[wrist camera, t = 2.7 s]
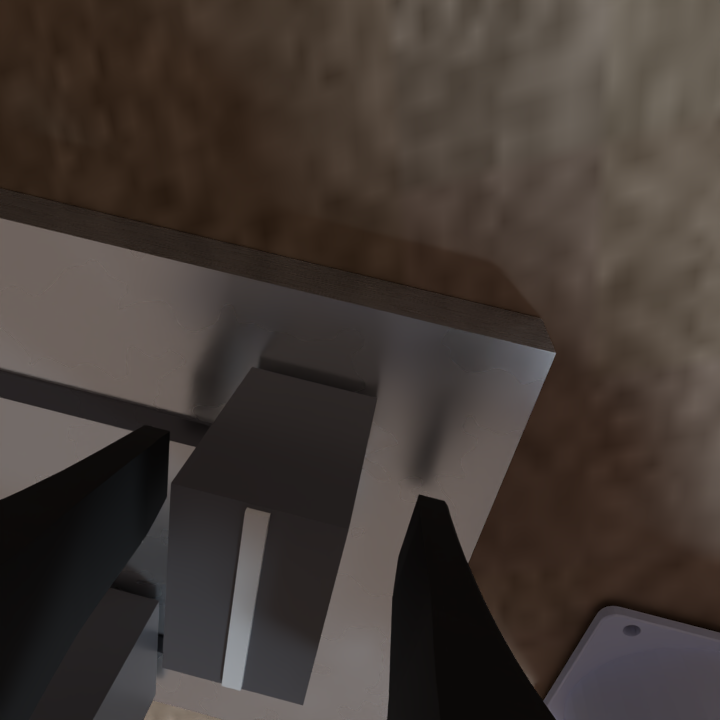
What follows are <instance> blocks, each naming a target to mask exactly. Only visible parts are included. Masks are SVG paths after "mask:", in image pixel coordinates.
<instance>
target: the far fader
mask: <svg viewBox="0 0 720 720" xmlns="http://www.w3.org/2000/svg"><path fill="white" fill-rule="evenodd" d="M158 622H159V601H158V600H155V599H151V598H147V597H143V596H139V595H136V594H132V593H128V592H124V591H121V590H117V589H113V588H109V589H108V591H107V592H106V594H105V595H104V596H103V598H102V599H101V601H100V602H99V603H98V605H97V606H96V608H95V609H94V610H93V612H92V613H91V615H90V616H89V618H88V619H87V621H86V622H85V624H84V625H83V627H82V628H81V630H80V631H79V633H78V634H77V636H76V637H75V639H74V641H73V643H72V644H71V646H70V648H69V650H68V651H67V653H66V655H65V656H64V658H63V660H62V662H61V663H60V665H59V667H58V669H57V670H56V672H55V674H54V675H53V677H52V679H51V681H50V682H49V684H48V686H47V688H46V690H45V692H44V693H43V695H42V697H41V699H40V701H39V702H38V704H37V706H36V708H35V710H34V711H33V713H32V715H31V717H30V719H29V720H144V718H145V715H146V713H147V711H148V709H149V707H150V705H151V703H152V701H153V699H154V697H155V695H156V673H157V648H158Z"/></svg>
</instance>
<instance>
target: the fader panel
mask: <svg viewBox="0 0 720 720" xmlns="http://www.w3.org/2000/svg"><path fill="white" fill-rule="evenodd" d="M555 354H556V352H555V349H554V347H553V345H552V342H551V340H550V337H549V335H548V333H547V330H546V328H545V326H544V323H543V321H542V319H541V318H537V317H533V316H529V315H525V314H521V313H517V312H512V311H508V310H504V309H500V308H496V307H492V306H488V305H483V304H479V303H475V302H471V301H467V300H463V299H458V298H454V297H450V296H446V295H442V294H438V293H434V292H429V291H425V290H421V289H417V288H413V287H409V286H404V285H400V284H396V283H392V282H388V281H384V280H380V279H375V278H371V277H367V276H363V275H359V274H355V273H350V272H346V271H342V270H338V269H334V268H330V267H326V266H321V265H317V264H313V263H309V262H305V261H301V260H296V259H292V258H288V257H284V256H280V255H276V254H272V253H267V252H263V251H259V250H255V249H251V248H247V247H242V246H238V245H234V244H230V243H226V242H222V241H218V240H213V239H209V238H205V237H201V236H197V235H193V234H188V233H184V232H180V231H176V230H172V229H168V228H164V227H159V226H155V225H151V224H147V223H143V222H139V221H134V220H130V219H126V218H122V217H118V216H114V215H110V214H105V213H101V212H97V211H93V210H89V209H85V208H80V207H76V206H72V205H68V204H64V203H60V202H56V201H51V200H47V199H43V198H39V197H35V196H31V195H26V194H22V193H18V192H14V191H10V190H6V189H2V188H0V500H1V499H3V498H6V497H8V496H10V495H12V494H15V493H17V492H19V491H21V490H23V489H25V488H27V487H29V486H31V485H34V484H36V483H38V482H40V481H42V480H44V479H46V478H48V477H50V476H52V475H54V474H56V473H58V472H60V471H62V470H64V469H66V468H68V467H70V466H72V465H73V464H75V463H77V462H79V461H81V460H83V459H85V458H86V457H88V456H90V455H92V454H94V453H95V452H97V451H99V450H101V449H103V448H104V447H106V446H108V445H110V444H112V443H113V442H115V441H117V440H119V439H120V438H122V437H124V436H126V435H128V434H129V433H131V432H133V431H135V430H137V429H138V428H140V427H142V426H144V425H148V426H152V427H156V428H160V429H164V430H168V431H170V443H169V466H168V489H167V498H166V500H165V502H164V504H163V506H162V508H161V510H160V512H159V514H158V515H157V517H156V519H155V521H154V523H153V525H152V526H151V528H150V530H149V532H148V534H147V535H146V537H145V538H144V540H143V541H142V543H141V544H140V546H139V547H138V548H137V550H136V551H135V553H134V554H133V556H132V557H131V558H130V560H129V561H128V563H127V564H126V566H125V567H124V568H123V570H122V571H121V573H120V574H119V575H118V577H117V578H116V580H115V581H114V582H113V584H112V585H111V587H110V588H113V589H117V590H121V591H124V592H128V593H132V594H136V595H139V596H143V597H147V598H151V599H155V600H158V601H159V622H158V648H157V673H156V695H155V697H154V699H153V701H157V702H161V703H164V704H168V705H172V706H175V707H179V708H183V709H186V710H190V711H194V712H198V713H201V714H205V715H209V716H212V717H216V718H220V719H223V720H387V713H388V700H389V673H390V643H391V615H392V596H393V589H394V582H395V575H396V568H397V562H398V556H399V553H400V550H401V547H402V544H403V541H404V538H405V535H406V532H407V529H408V526H409V523H410V519H411V516H412V513H413V510H414V507H415V504H416V501H417V498H418V495H419V494H420V495H424V496H428V497H432V498H436V499H440V500H444V501H445V502H446V504H447V505H448V508H449V512H450V515H451V518H452V521H453V524H454V527H455V530H456V533H457V536H458V539H459V542H460V544H461V547H462V550H463V552H464V555H465V557H466V560H467V562H469V560H470V558H471V555H472V553H473V550H474V548H475V546H476V543H477V541H478V539H479V536H480V534H481V531H482V529H483V527H484V524H485V522H486V519H487V517H488V515H489V512H490V510H491V507H492V505H493V503H494V500H495V498H496V496H497V493H498V491H499V488H500V486H501V484H502V481H503V479H504V476H505V474H506V472H507V469H508V467H509V464H510V462H511V460H512V457H513V455H514V452H515V450H516V448H517V445H518V443H519V441H520V438H521V436H522V433H523V431H524V429H525V426H526V424H527V421H528V419H529V417H530V414H531V412H532V409H533V407H534V405H535V402H536V400H537V398H538V395H539V393H540V390H541V388H542V386H543V383H544V381H545V378H546V376H547V374H548V371H549V369H550V366H551V364H552V362H553V359H554V357H555ZM252 367H255V368H259V369H263V370H267V371H271V372H275V373H279V374H283V375H287V376H291V377H295V378H299V379H303V380H307V381H311V382H315V383H319V384H323V385H327V386H331V387H335V388H339V389H343V390H347V391H351V392H355V393H359V394H363V395H367V396H371V397H375V398H377V403H376V407H375V412H374V417H373V421H372V426H371V430H370V435H369V439H368V444H367V449H366V453H365V458H364V462H363V467H362V472H361V476H360V481H359V485H358V490H357V494H356V499H355V504H354V508H353V513H352V517H351V522H350V526H349V531H348V535H347V538H346V542H345V546H344V550H343V554H342V558H341V561H340V565H339V569H338V573H337V577H336V581H335V584H334V588H333V592H332V596H331V600H330V604H329V607H328V611H327V615H326V619H325V623H324V627H323V631H322V634H321V638H320V642H319V646H318V650H317V654H316V657H315V661H314V665H313V669H312V673H311V677H310V680H309V684H308V688H307V692H306V696H305V700H304V704H303V705H299V704H296V703H292V702H288V701H284V700H281V699H277V698H273V697H269V696H266V695H262V694H258V693H255V692H251V691H247V690H243V689H241V691H239V690H235V689H231V688H228V687H224V686H222V684H221V683H217V682H214V681H210V680H206V679H203V678H199V677H195V676H191V675H188V674H184V673H180V672H176V671H173V670H169V669H165V668H162V660H163V639H164V618H165V597H166V576H167V555H168V533H169V512H170V491H171V482H172V481H173V479H174V478H175V477H176V475H177V474H178V472H179V471H180V469H181V468H182V467H183V465H184V464H185V462H186V461H187V459H188V458H189V456H190V455H191V454H192V452H193V451H194V449H195V448H196V446H197V445H198V444H199V442H200V441H201V439H202V438H203V436H204V435H205V434H206V432H207V431H208V429H209V428H210V426H211V425H212V424H213V422H214V421H215V419H216V418H217V416H218V415H219V413H220V412H221V411H222V409H223V408H224V406H225V405H226V403H227V402H228V401H229V399H230V398H231V396H232V395H233V393H234V392H235V391H236V389H237V388H238V386H239V385H240V383H241V382H242V381H243V379H244V378H245V376H246V375H247V373H248V372H249V370H250V369H251V368H252Z"/></svg>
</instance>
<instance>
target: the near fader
mask: <svg viewBox="0 0 720 720" xmlns="http://www.w3.org/2000/svg"><path fill="white" fill-rule="evenodd" d="M376 403H377V398H375V397H371V396H367V395H363V394H359V393H355V392H351V391H347V390H343V389H339V388H335V387H331V386H327V385H323V384H319V383H315V382H311V381H307V380H303V379H299V378H295V377H291V376H287V375H283V374H279V373H275V372H271V371H267V370H263V369H259V368H255V367H252V368H251V369H250V370H249V372H248V373H247V375H246V376H245V378H244V379H243V381H242V382H241V383H240V385H239V386H238V388H237V389H236V391H235V392H234V393H233V395H232V396H231V398H230V399H229V401H228V402H227V403H226V405H225V406H224V408H223V409H222V411H221V412H220V413H219V415H218V416H217V418H216V419H215V421H214V422H213V424H212V425H211V426H210V428H209V429H208V431H207V432H206V434H205V435H204V436H203V438H202V439H201V441H200V442H199V444H198V445H197V446H196V448H195V449H194V451H193V452H192V454H191V455H190V456H189V458H188V459H187V461H186V462H185V464H184V465H183V467H182V468H181V469H180V471H179V472H178V474H177V475H176V477H175V478H174V479H173V481H172V482H171V491H170V512H169V533H168V555H167V576H166V597H165V618H164V639H163V660H162V668H165V669H169V670H173V671H176V672H180V673H184V674H188V675H191V676H195V677H199V678H203V679H206V680H210V681H214V682H217V683H221V684H222V686H224V687H228V688H231V689H235V690H239V691H241V689H243V690H247V691H251V692H255V693H258V694H262V695H266V696H269V697H273V698H277V699H281V700H284V701H288V702H292V703H296V704H299V705H303V704H304V700H305V696H306V692H307V688H308V684H309V680H310V677H311V673H312V669H313V665H314V661H315V657H316V654H317V650H318V646H319V642H320V638H321V634H322V631H323V627H324V623H325V619H326V615H327V611H328V607H329V604H330V600H331V596H332V592H333V588H334V584H335V581H336V577H337V573H338V569H339V565H340V561H341V558H342V554H343V550H344V546H345V542H346V538H347V535H348V531H349V526H350V522H351V517H352V513H353V508H354V504H355V499H356V494H357V490H358V485H359V481H360V476H361V472H362V467H363V462H364V458H365V453H366V449H367V444H368V439H369V435H370V430H371V426H372V421H373V417H374V412H375V407H376Z"/></svg>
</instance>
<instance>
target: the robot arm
mask: <svg viewBox="0 0 720 720" xmlns="http://www.w3.org/2000/svg"><path fill="white" fill-rule="evenodd" d="M169 443H170V431H168V430H164V429H160V428H156V427H152V426H148V425H144V426H142V427H140V428H138V429H137V430H135V431H133V432H131V433H129V434H128V435H126V436H124V437H122V438H120V439H119V440H117V441H115V442H113V443H112V444H110V445H108V446H106V447H104V448H103V449H101V450H99V451H97V452H95V453H94V454H92V455H90V456H88V457H86V458H85V459H83V460H81V461H79V462H77V463H75V464H73V465H72V466H70V467H68V468H66V469H64V470H62V471H60V472H58V473H56V474H54V475H52V476H50V477H48V478H46V479H44V480H42V481H40V482H38V483H36V484H34V485H31V486H29V487H27V488H25V489H23V490H21V491H19V492H17V493H15V494H12V495H10V496H8V497H6V498H3V499H1V500H0V720H29V719H30V717H31V715H32V713H33V711H34V710H35V708H36V706H37V704H38V702H39V701H40V699H41V697H42V695H43V693H44V692H45V690H46V688H47V686H48V684H49V682H50V681H51V679H52V677H53V675H54V674H55V672H56V670H57V669H58V667H59V665H60V663H61V662H62V660H63V658H64V656H65V655H66V653H67V651H68V650H69V648H70V646H71V644H72V643H73V641H74V639H75V637H76V636H77V634H78V633H79V631H80V630H81V628H82V627H83V625H84V624H85V622H86V621H87V619H88V618H89V616H90V615H91V613H92V612H93V610H94V609H95V608H96V606H97V605H98V603H99V602H100V601H101V599H102V598H103V596H104V595H105V594H106V592H107V591H108V589H109V588H110V587H111V585H112V584H113V582H114V581H115V580H116V578H117V577H118V575H119V574H120V573H121V571H122V570H123V568H124V567H125V566H126V564H127V563H128V561H129V560H130V558H131V557H132V556H133V554H134V553H135V551H136V550H137V548H138V547H139V546H140V544H141V543H142V541H143V540H144V538H145V537H146V535H147V534H148V532H149V530H150V528H151V526H152V525H153V523H154V521H155V519H156V517H157V515H158V514H159V512H160V510H161V508H162V506H163V504H164V502H165V500H166V498H167V489H168V466H169ZM387 720H720V632H716V631H712V630H708V629H704V628H700V627H696V626H692V625H689V624H685V623H681V622H677V621H673V620H669V619H665V618H661V617H657V616H654V615H650V614H646V613H642V612H638V611H634V610H630V609H626V608H622V607H619V606H607V607H605V608H602V609H601V610H600V611H599V612H598V613H597V614H596V616H595V618H594V619H593V621H592V623H591V624H590V626H589V627H588V629H587V631H586V632H585V634H584V636H583V637H582V639H581V640H580V642H579V644H578V645H577V647H576V649H575V650H574V652H573V653H572V655H571V657H570V658H569V660H568V662H567V663H566V665H565V666H564V668H563V670H562V671H561V673H560V675H559V676H558V678H557V679H556V681H555V683H554V684H553V686H552V688H551V689H550V691H549V692H548V694H547V696H546V697H545V699H544V701H543V700H542V699H541V697H540V696H539V695H538V693H537V692H536V690H535V689H534V687H533V686H532V684H531V683H530V681H529V680H528V678H527V676H526V675H525V673H524V672H523V670H522V668H521V667H520V665H519V664H518V662H517V660H516V659H515V657H514V655H513V653H512V652H511V650H510V648H509V647H508V645H507V643H506V641H505V640H504V638H503V636H502V634H501V632H500V631H499V629H498V627H497V625H496V623H495V621H494V619H493V617H492V615H491V613H490V611H489V609H488V607H487V605H486V603H485V601H484V599H483V597H482V595H481V592H480V590H479V588H478V586H477V584H476V581H475V579H474V576H473V574H472V572H471V569H470V567H469V565H468V562H467V560H466V557H465V555H464V552H463V550H462V547H461V544H460V542H459V539H458V536H457V533H456V530H455V527H454V524H453V521H452V518H451V515H450V512H449V508H448V505H447V504H446V502H445V501H444V500H440V499H436V498H432V497H428V496H424V495H420V494H419V495H418V498H417V501H416V504H415V507H414V510H413V513H412V516H411V519H410V523H409V526H408V529H407V532H406V535H405V538H404V541H403V544H402V547H401V550H400V553H399V556H398V562H397V568H396V575H395V582H394V589H393V596H392V615H391V643H390V673H389V700H388V713H387Z"/></svg>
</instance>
